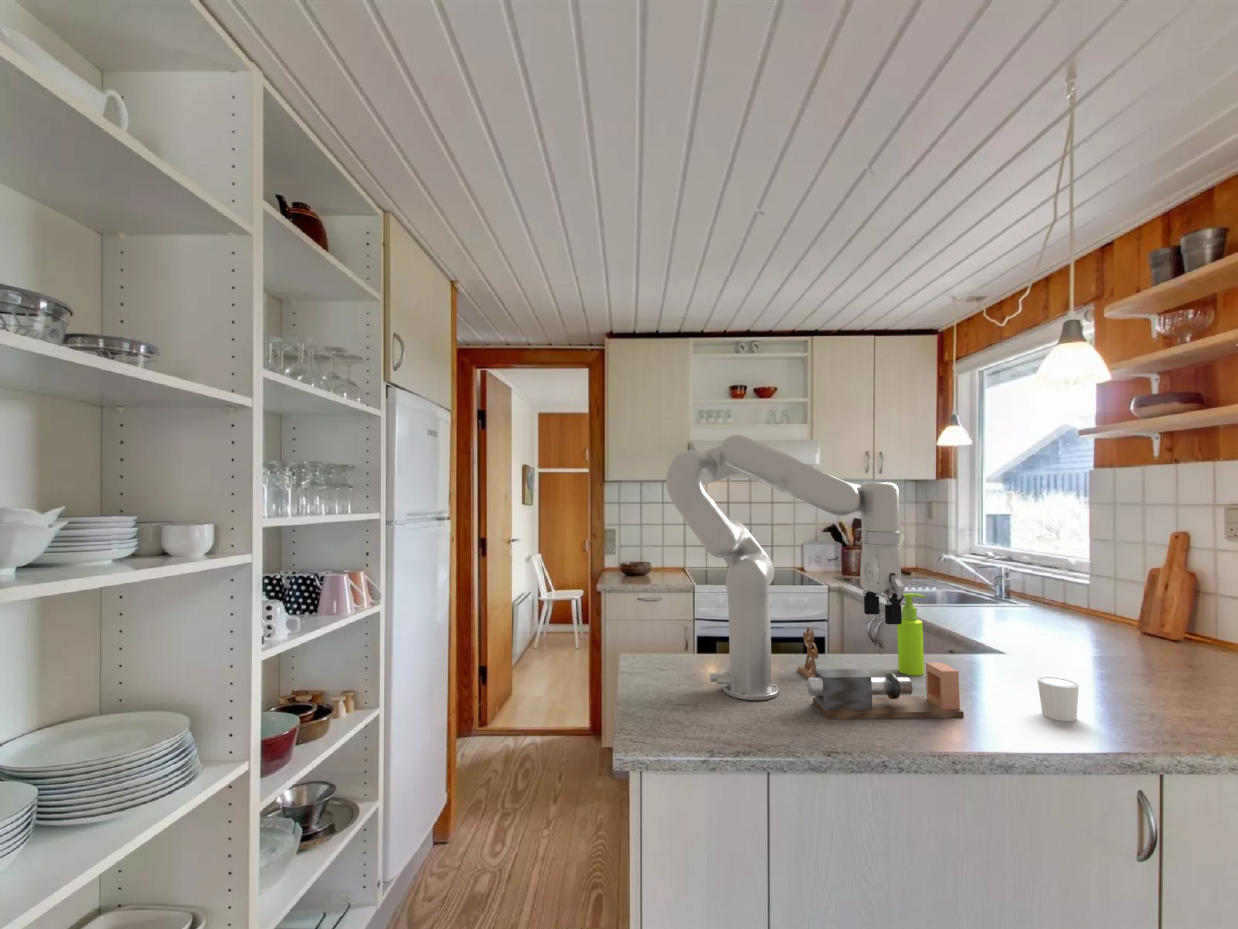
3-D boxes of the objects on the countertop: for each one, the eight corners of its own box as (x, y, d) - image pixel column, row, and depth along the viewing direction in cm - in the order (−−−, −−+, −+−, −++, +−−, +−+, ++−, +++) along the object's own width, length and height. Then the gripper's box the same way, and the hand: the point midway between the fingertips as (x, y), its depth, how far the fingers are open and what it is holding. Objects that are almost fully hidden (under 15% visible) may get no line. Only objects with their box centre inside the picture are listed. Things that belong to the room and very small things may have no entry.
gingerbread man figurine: (825, 680, 144) (824, 631, 145) (810, 681, 144) (809, 632, 145) (811, 670, 153) (810, 623, 154) (797, 670, 153) (796, 624, 154)
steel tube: (814, 703, 122) (813, 678, 123) (806, 694, 127) (805, 670, 128) (914, 702, 122) (914, 677, 123) (902, 694, 128) (902, 669, 128)
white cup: (1082, 725, 116) (1081, 689, 116) (1040, 718, 120) (1038, 683, 120) (1078, 714, 122) (1076, 679, 122) (1037, 707, 126) (1036, 674, 126)
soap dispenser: (931, 676, 147) (929, 596, 148) (902, 675, 149) (899, 595, 150) (924, 669, 153) (921, 592, 154) (895, 668, 154) (893, 591, 155)
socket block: (942, 709, 122) (941, 671, 122) (926, 698, 128) (925, 662, 128) (959, 709, 122) (958, 671, 122) (942, 698, 128) (941, 662, 128)
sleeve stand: (827, 718, 120) (826, 679, 121) (812, 703, 129) (812, 667, 130) (963, 717, 120) (962, 679, 121) (939, 702, 129) (938, 666, 130)
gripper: (847, 536, 136) (848, 610, 135) (882, 542, 119) (884, 628, 118) (878, 536, 136) (880, 610, 135) (918, 542, 119) (920, 628, 118)
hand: (882, 618), depth 127 cm, fingers open, 9 cm apart
